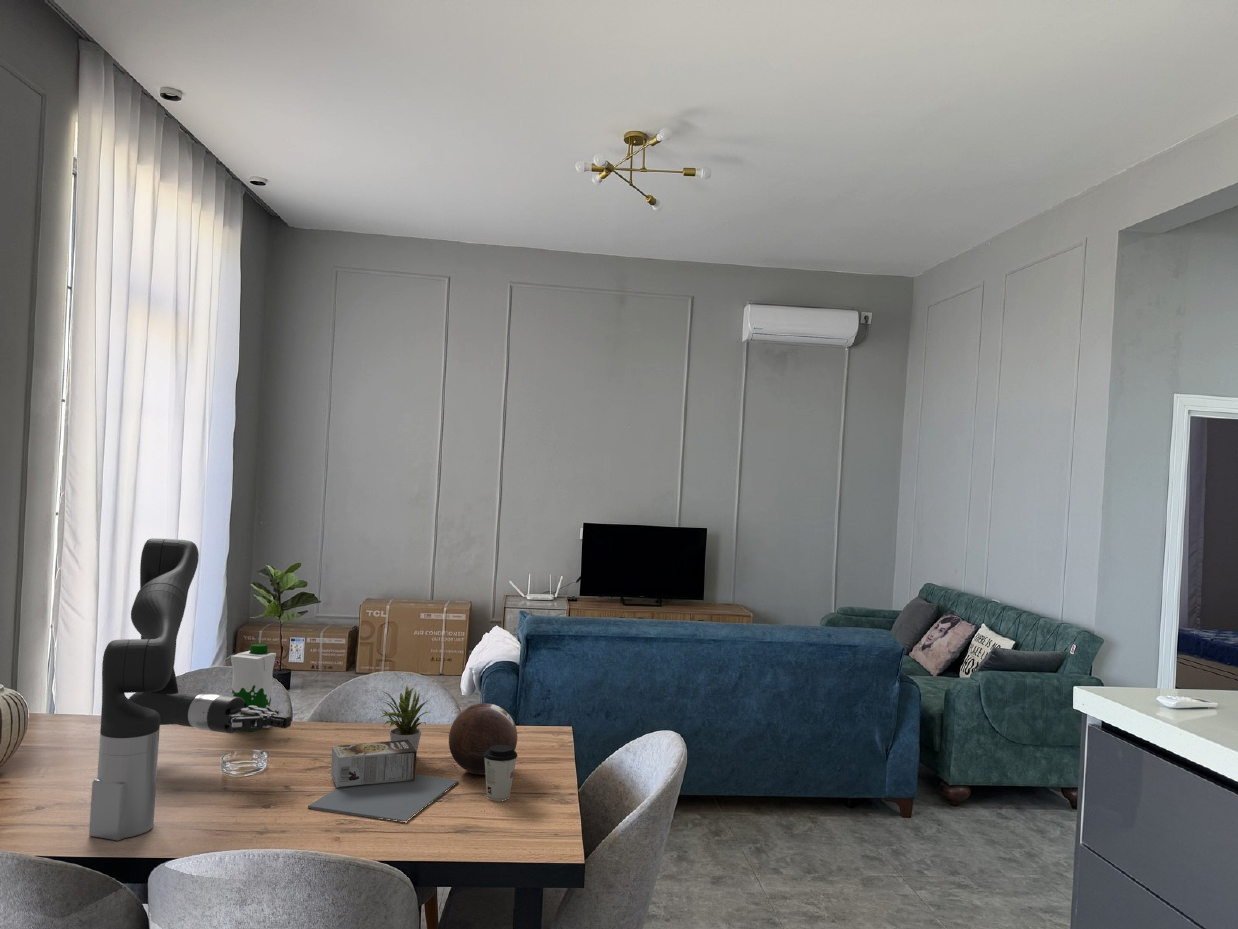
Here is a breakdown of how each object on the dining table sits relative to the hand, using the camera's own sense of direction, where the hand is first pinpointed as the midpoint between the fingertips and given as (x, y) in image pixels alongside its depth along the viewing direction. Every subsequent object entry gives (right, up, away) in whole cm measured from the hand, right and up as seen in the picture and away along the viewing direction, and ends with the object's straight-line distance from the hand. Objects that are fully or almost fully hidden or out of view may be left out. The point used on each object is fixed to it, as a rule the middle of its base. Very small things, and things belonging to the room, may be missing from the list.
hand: (288, 722), depth 185 cm
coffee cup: (+44, -14, -4) cm, 47 cm away
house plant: (+19, -14, +19) cm, 30 cm away
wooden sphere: (+38, -14, +11) cm, 43 cm away
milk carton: (-23, -12, +36) cm, 45 cm away
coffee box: (+10, -9, -1) cm, 13 cm away
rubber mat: (+22, -13, -6) cm, 26 cm away
